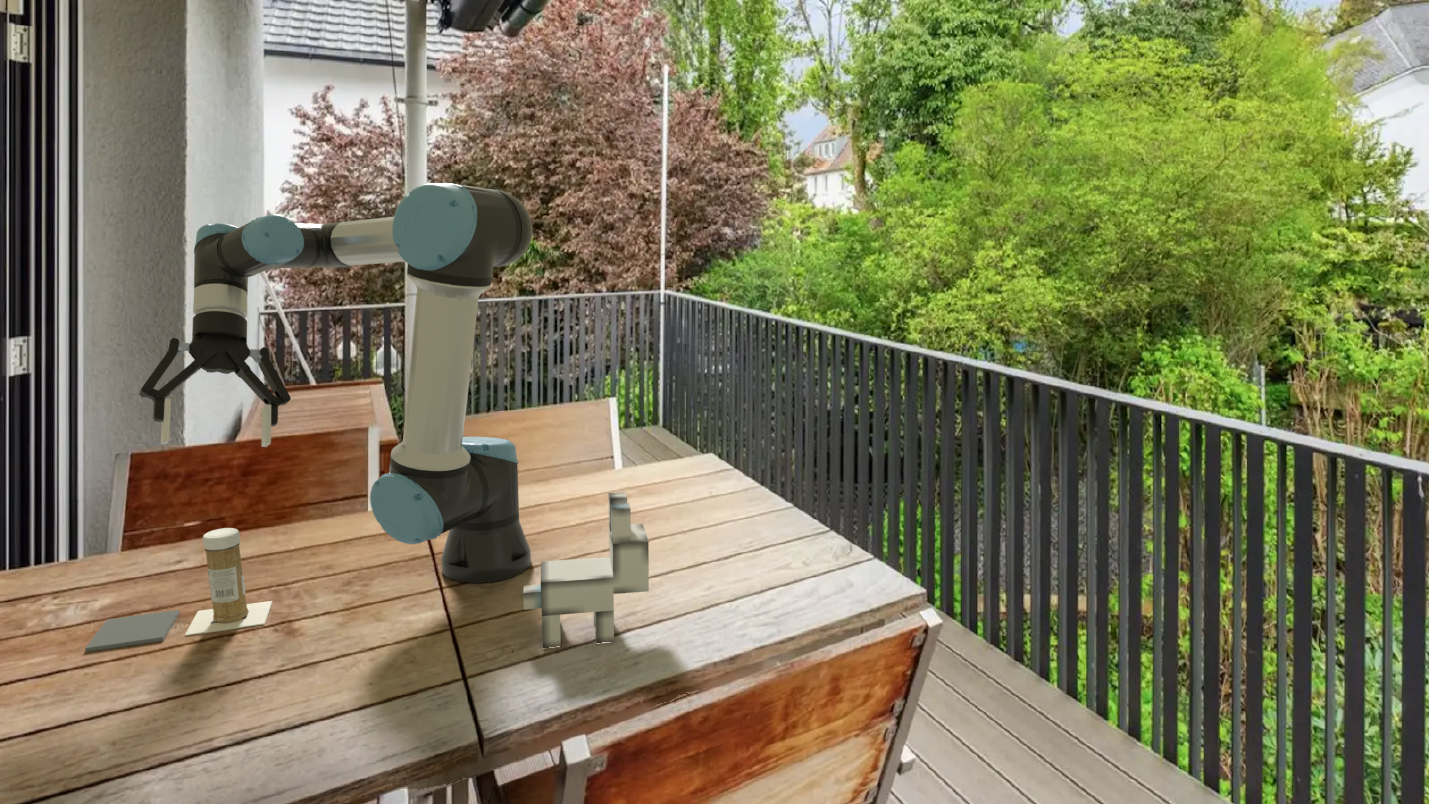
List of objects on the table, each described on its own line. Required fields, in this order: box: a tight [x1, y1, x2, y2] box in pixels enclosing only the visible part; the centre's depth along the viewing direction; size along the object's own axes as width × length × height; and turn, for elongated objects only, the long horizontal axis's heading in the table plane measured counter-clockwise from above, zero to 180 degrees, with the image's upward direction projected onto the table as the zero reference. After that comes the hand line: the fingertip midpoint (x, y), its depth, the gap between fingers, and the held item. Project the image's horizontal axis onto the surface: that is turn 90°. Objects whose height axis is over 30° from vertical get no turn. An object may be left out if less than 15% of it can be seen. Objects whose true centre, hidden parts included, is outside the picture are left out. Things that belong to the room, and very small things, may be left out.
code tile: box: [184, 600, 273, 637], centre depth 117 cm, size 10×8×1 cm
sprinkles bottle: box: [202, 527, 248, 623], centre depth 115 cm, size 5×5×13 cm
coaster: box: [84, 609, 180, 653], centre depth 112 cm, size 9×9×1 cm
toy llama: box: [522, 492, 650, 649], centre depth 112 cm, size 8×18×20 cm, turn 102°
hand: (217, 444), depth 122 cm, fingers open, 13 cm apart
